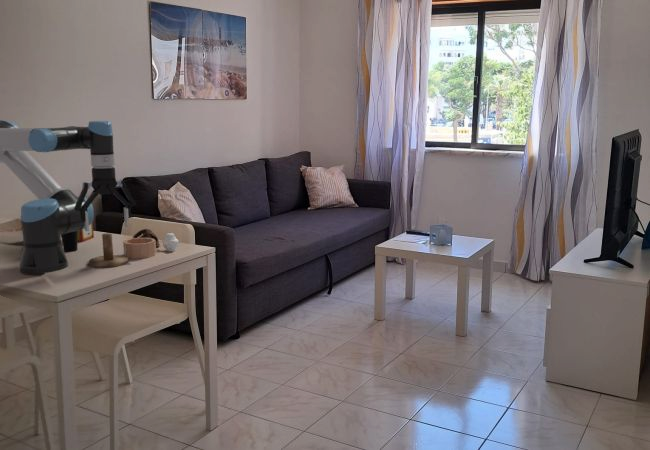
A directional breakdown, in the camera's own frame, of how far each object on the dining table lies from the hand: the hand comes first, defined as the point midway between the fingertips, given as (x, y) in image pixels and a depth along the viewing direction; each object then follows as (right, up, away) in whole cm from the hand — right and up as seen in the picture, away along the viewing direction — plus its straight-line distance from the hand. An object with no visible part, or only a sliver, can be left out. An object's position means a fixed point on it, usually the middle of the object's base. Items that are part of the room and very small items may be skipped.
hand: (107, 228), depth 228 cm
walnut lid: (0, -12, +2) cm, 12 cm away
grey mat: (0, -13, +3) cm, 13 cm away
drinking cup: (-22, -9, +25) cm, 34 cm away
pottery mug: (+5, -8, +31) cm, 32 cm away
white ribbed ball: (+16, -9, +25) cm, 31 cm away
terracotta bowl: (+7, -10, +14) cm, 19 cm away
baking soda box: (-25, -5, +44) cm, 51 cm away
